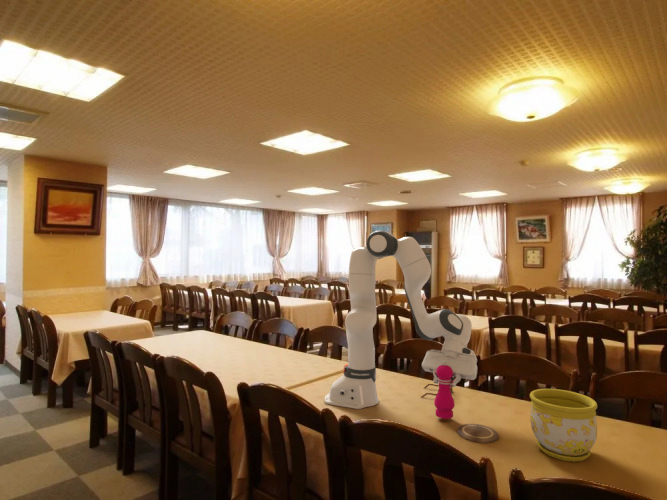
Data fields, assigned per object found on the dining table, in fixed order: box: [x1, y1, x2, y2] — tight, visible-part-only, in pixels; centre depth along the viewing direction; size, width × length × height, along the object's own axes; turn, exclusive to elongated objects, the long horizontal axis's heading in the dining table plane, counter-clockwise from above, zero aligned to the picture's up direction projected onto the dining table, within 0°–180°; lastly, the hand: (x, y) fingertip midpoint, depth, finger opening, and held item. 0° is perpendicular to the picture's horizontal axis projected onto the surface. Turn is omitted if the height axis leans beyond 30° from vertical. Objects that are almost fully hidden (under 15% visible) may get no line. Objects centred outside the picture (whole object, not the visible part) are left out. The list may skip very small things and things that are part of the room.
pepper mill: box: [433, 361, 456, 420], centre depth 147 cm, size 7×7×20 cm
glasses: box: [420, 383, 454, 398], centre depth 175 cm, size 13×13×5 cm
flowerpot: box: [529, 388, 598, 463], centre depth 123 cm, size 18×18×16 cm
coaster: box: [456, 423, 499, 444], centre depth 135 cm, size 13×13×1 cm
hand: (443, 384), depth 147 cm, fingers closed on pepper mill, 5 cm apart
